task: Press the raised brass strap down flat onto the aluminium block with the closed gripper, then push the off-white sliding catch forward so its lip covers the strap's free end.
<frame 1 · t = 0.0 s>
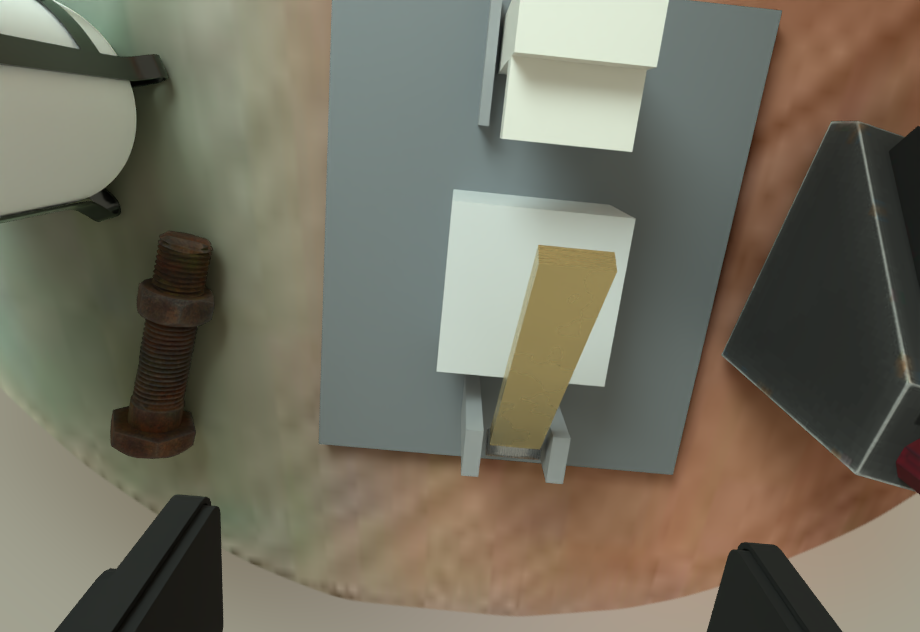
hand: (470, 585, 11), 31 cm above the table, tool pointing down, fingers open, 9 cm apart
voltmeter: (868, 272, 41), on the table
catch: (562, 76, 30), point 7 cm above the table, slide at 0.0 cm
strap: (536, 374, 30), point 13 cm above the table, hinge at 0.0°
coffee press: (63, 82, 38), on the table
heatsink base: (519, 268, 41), on the table
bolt: (186, 331, 43), on the table
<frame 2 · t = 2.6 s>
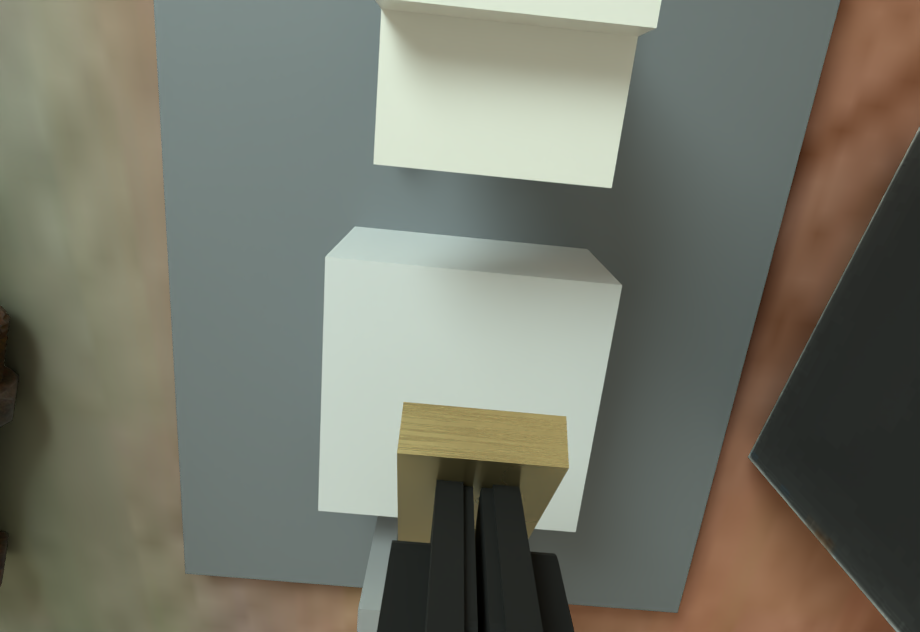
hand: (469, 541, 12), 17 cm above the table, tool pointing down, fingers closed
catch: (498, 53, 18), point 7 cm above the table, slide at 0.0 cm
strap: (451, 561, 18), point 13 cm above the table, hinge at 0.0°, touching gripper
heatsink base: (460, 334, 29), on the table
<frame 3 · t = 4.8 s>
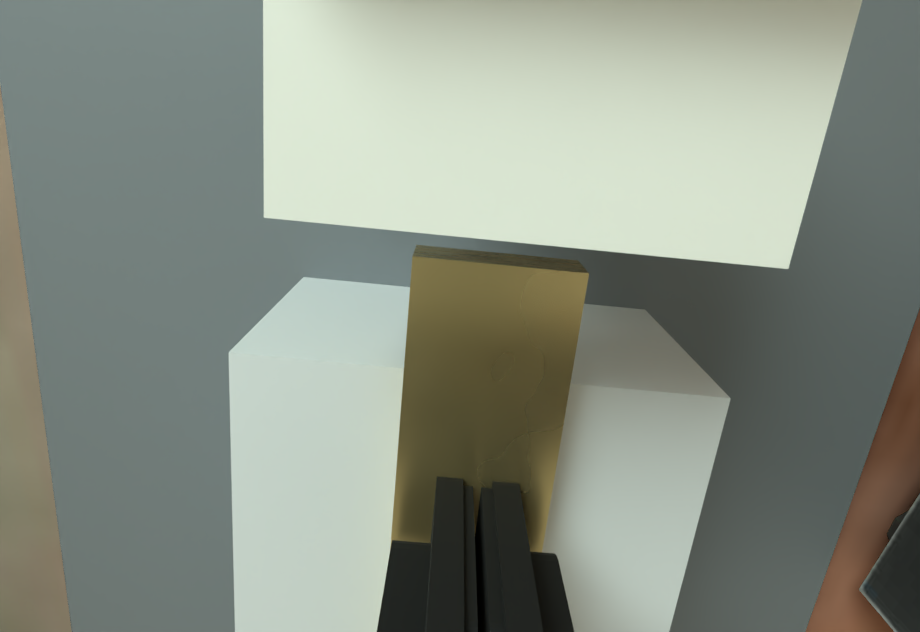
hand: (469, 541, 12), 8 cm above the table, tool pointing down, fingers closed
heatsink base: (459, 421, 20), on the table
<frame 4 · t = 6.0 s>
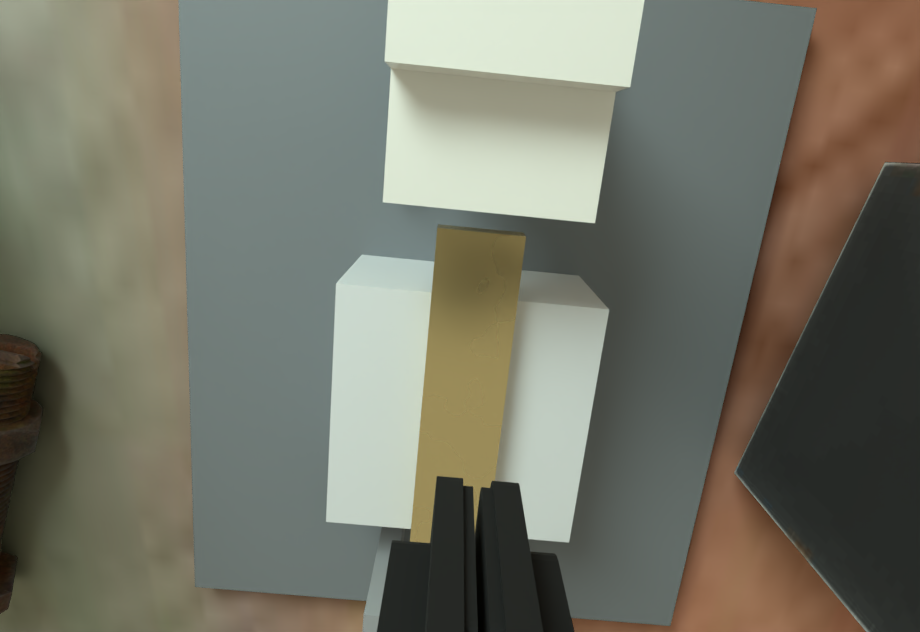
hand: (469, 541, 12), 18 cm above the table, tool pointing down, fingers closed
catch: (494, 101, 20), point 7 cm above the table, slide at 0.0 cm
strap: (457, 453, 23), point 8 cm above the table, hinge at -35.2°
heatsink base: (460, 356, 30), on the table
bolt: (14, 454, 32), on the table
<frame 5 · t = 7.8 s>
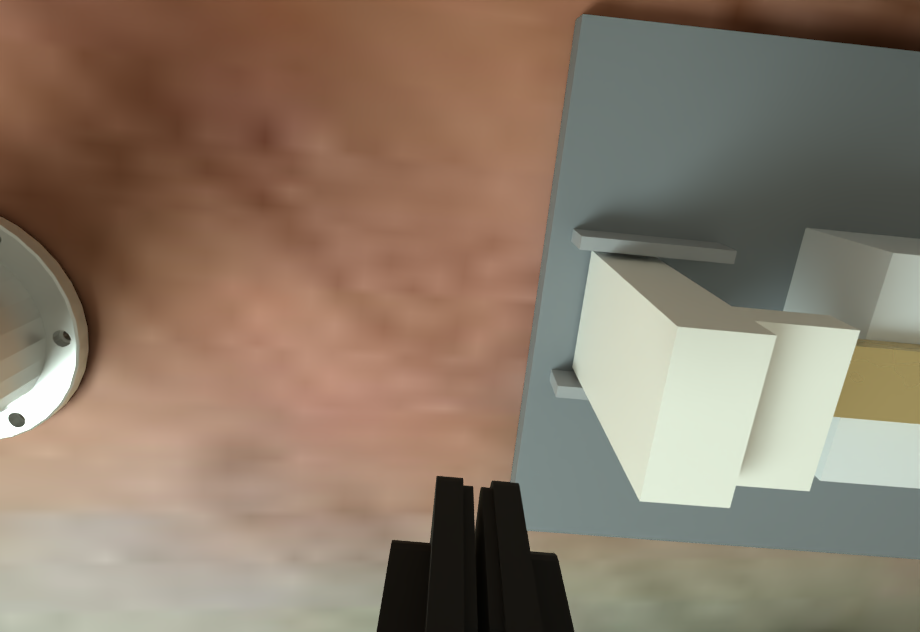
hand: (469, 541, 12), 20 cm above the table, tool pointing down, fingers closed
catch: (690, 359, 24), point 7 cm above the table, slide at 0.0 cm
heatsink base: (856, 326, 32), on the table
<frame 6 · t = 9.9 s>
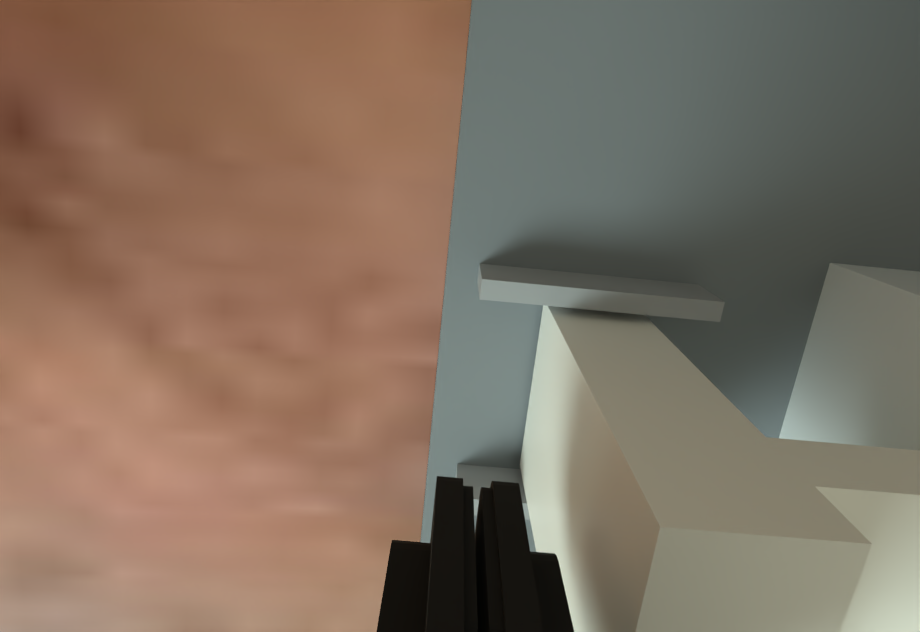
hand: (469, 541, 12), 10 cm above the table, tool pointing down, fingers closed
catch: (691, 493, 15), point 7 cm above the table, slide at 1.2 cm, touching gripper
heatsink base: (899, 399, 22), on the table
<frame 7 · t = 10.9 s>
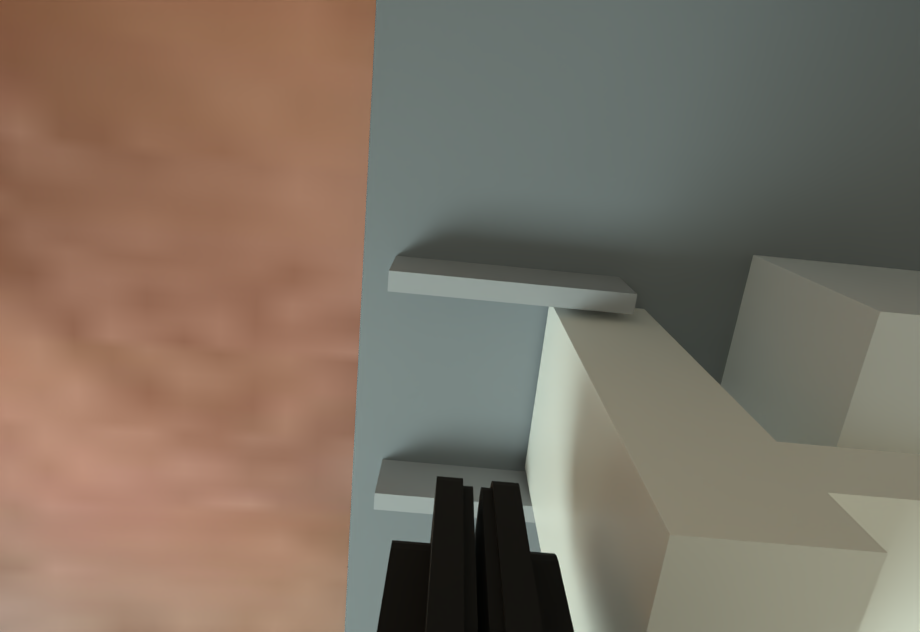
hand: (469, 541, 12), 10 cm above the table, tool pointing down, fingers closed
catch: (699, 497, 14), point 7 cm above the table, slide at 3.9 cm, touching gripper
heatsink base: (835, 395, 22), on the table
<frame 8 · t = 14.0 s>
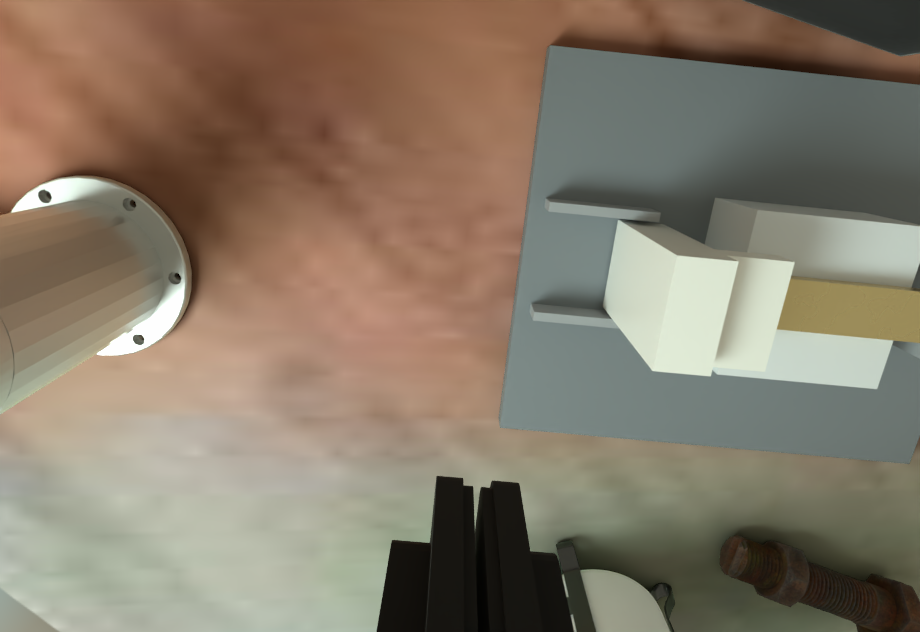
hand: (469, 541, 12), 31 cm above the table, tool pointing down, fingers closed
catch: (688, 290, 35), point 7 cm above the table, slide at 3.9 cm
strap: (843, 308, 35), point 8 cm above the table, hinge at -35.2°
coffee press: (568, 603, 51), on the table
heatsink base: (760, 273, 42), on the table
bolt: (797, 561, 50), on the table
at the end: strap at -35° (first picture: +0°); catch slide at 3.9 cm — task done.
